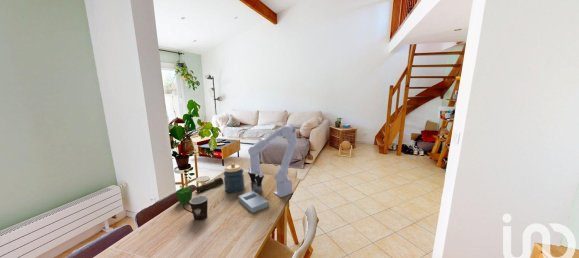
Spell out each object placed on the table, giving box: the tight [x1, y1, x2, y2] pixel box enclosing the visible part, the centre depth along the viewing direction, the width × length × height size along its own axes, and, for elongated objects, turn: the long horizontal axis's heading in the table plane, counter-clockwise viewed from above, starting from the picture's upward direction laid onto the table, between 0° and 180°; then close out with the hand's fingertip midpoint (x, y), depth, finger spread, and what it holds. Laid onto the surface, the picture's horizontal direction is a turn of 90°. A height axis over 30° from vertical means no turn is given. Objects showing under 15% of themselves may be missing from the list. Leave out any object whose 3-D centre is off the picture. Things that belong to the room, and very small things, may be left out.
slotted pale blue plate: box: [238, 190, 269, 214], centre depth 122 cm, size 10×17×3 cm, turn 38°
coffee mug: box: [182, 194, 209, 222], centre depth 110 cm, size 12×9×10 cm
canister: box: [222, 162, 245, 193], centre depth 141 cm, size 13×13×18 cm
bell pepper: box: [175, 185, 193, 205], centre depth 126 cm, size 8×8×10 cm
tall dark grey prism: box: [250, 180, 263, 194], centre depth 136 cm, size 6×3×7 cm, turn 128°
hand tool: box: [195, 177, 224, 194], centre depth 145 cm, size 19×4×5 cm, turn 135°
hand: (256, 184), depth 136 cm, fingers open, 7 cm apart
